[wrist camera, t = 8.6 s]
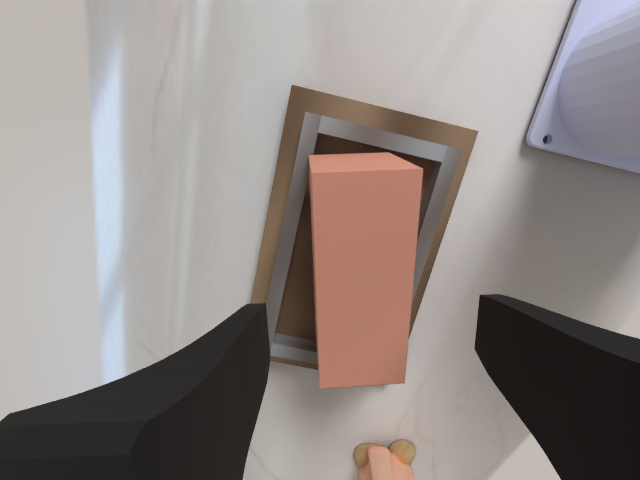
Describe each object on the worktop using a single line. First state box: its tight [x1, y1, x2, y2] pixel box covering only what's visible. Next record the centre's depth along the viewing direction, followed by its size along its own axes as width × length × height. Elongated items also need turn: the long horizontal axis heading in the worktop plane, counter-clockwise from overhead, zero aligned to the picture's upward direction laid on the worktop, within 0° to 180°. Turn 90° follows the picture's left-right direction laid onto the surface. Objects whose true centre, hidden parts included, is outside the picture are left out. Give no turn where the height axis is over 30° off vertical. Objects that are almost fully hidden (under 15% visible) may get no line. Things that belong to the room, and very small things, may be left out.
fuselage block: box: [309, 152, 423, 389], centre depth 16 cm, size 4×10×5 cm, turn 2°
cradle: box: [251, 85, 478, 369], centre depth 19 cm, size 10×16×2 cm, turn 167°
